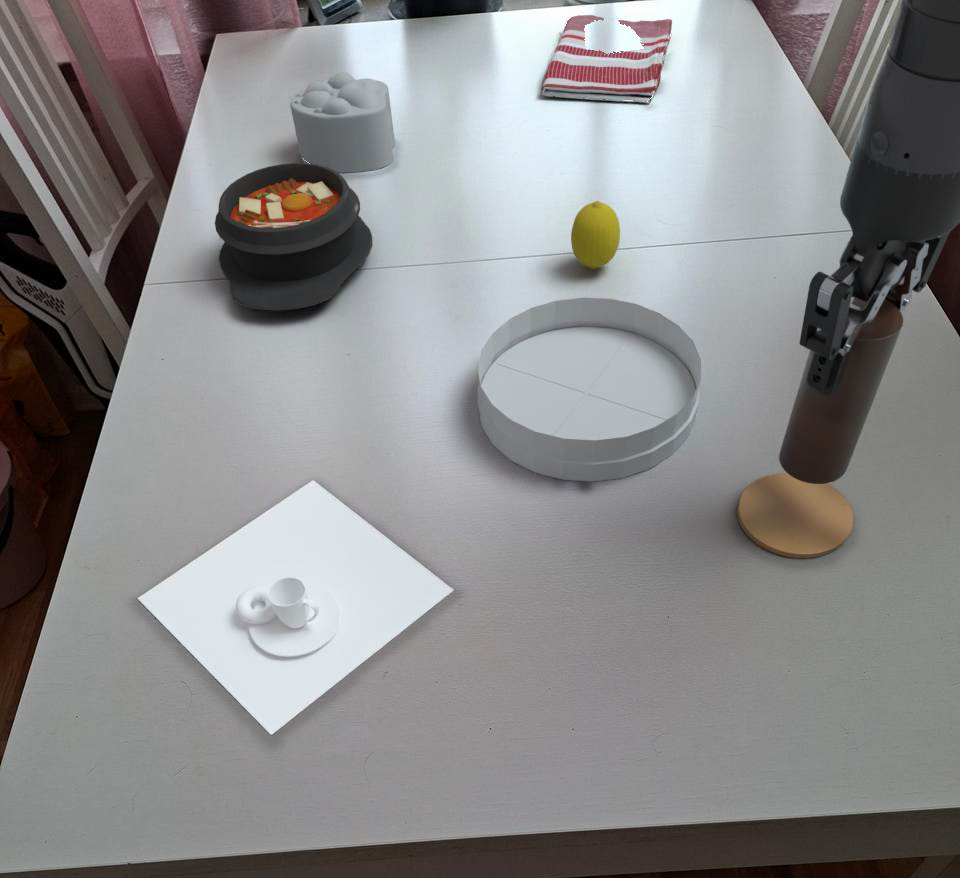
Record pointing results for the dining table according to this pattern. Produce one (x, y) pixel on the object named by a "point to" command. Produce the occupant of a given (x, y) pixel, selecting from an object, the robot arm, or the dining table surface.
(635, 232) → the dining table surface
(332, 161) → the lumpy-topped squat cylinder
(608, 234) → the lemon
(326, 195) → the casserole
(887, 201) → the robot arm
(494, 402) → the dish
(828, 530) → the coaster
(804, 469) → the brown cylinder
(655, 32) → the dish towel
